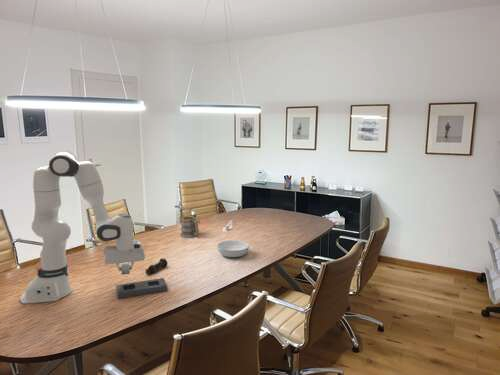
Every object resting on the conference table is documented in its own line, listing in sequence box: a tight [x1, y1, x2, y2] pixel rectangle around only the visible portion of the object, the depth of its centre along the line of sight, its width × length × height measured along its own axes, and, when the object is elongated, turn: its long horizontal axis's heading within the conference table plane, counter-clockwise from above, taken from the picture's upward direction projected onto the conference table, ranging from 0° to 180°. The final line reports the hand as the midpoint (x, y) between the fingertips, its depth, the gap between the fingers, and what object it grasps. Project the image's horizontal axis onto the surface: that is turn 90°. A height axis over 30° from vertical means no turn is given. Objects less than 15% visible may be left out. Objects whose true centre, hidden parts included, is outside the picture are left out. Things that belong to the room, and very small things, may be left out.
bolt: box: [145, 257, 168, 275], centre depth 215 cm, size 6×5×15 cm
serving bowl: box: [216, 239, 250, 258], centre depth 242 cm, size 21×21×7 cm
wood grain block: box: [120, 262, 130, 275], centre depth 196 cm, size 4×4×5 cm
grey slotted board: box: [115, 277, 168, 300], centre depth 189 cm, size 24×10×3 cm, turn 113°
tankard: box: [179, 216, 201, 239], centre depth 282 cm, size 20×13×15 cm, turn 43°
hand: (125, 269), depth 196 cm, fingers closed on wood grain block, 4 cm apart
